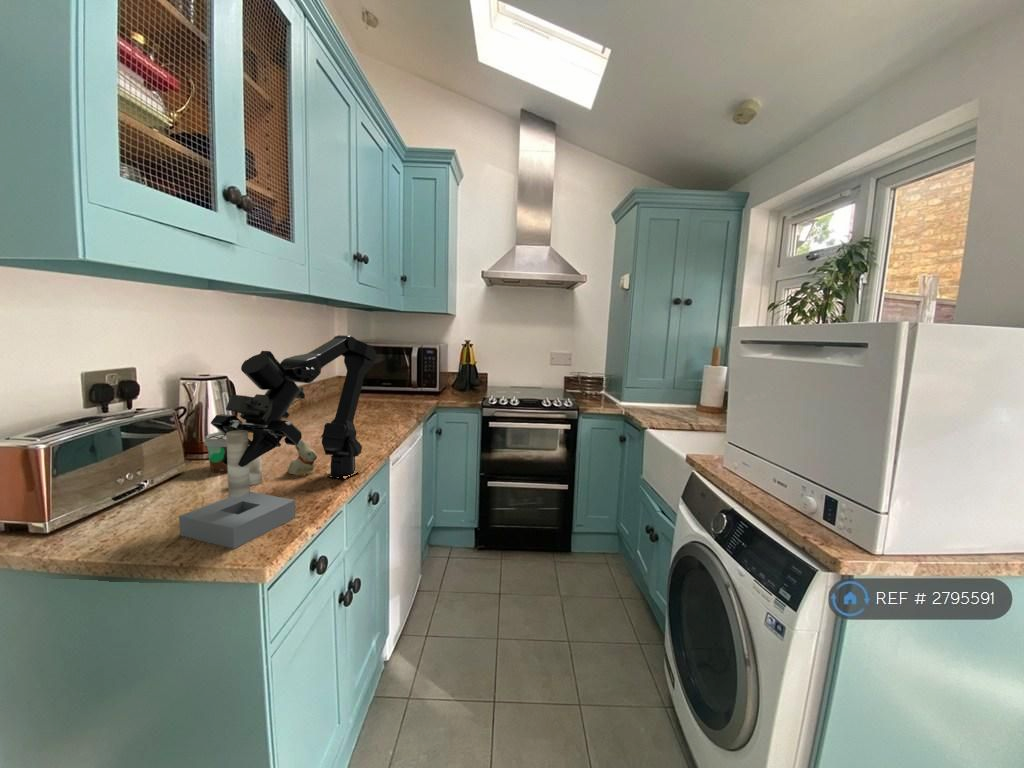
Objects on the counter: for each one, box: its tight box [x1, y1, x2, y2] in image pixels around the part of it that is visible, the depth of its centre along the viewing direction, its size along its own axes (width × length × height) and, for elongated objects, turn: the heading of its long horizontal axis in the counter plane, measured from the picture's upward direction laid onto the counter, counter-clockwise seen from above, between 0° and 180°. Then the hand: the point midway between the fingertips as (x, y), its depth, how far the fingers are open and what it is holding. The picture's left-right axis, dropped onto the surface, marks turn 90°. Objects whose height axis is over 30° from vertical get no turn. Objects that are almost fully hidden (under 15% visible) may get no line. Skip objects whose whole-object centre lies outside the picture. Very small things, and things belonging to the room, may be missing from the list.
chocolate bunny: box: [286, 439, 318, 476], centre depth 113 cm, size 6×8×10 cm
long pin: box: [226, 430, 251, 498], centre depth 80 cm, size 4×4×13 cm
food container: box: [203, 431, 228, 474], centre depth 113 cm, size 12×6×10 cm, turn 44°
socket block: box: [178, 491, 296, 550], centre depth 81 cm, size 14×14×4 cm
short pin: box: [249, 455, 263, 486], centre depth 105 cm, size 4×4×7 cm
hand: (232, 464), depth 79 cm, fingers closed on long pin, 4 cm apart
